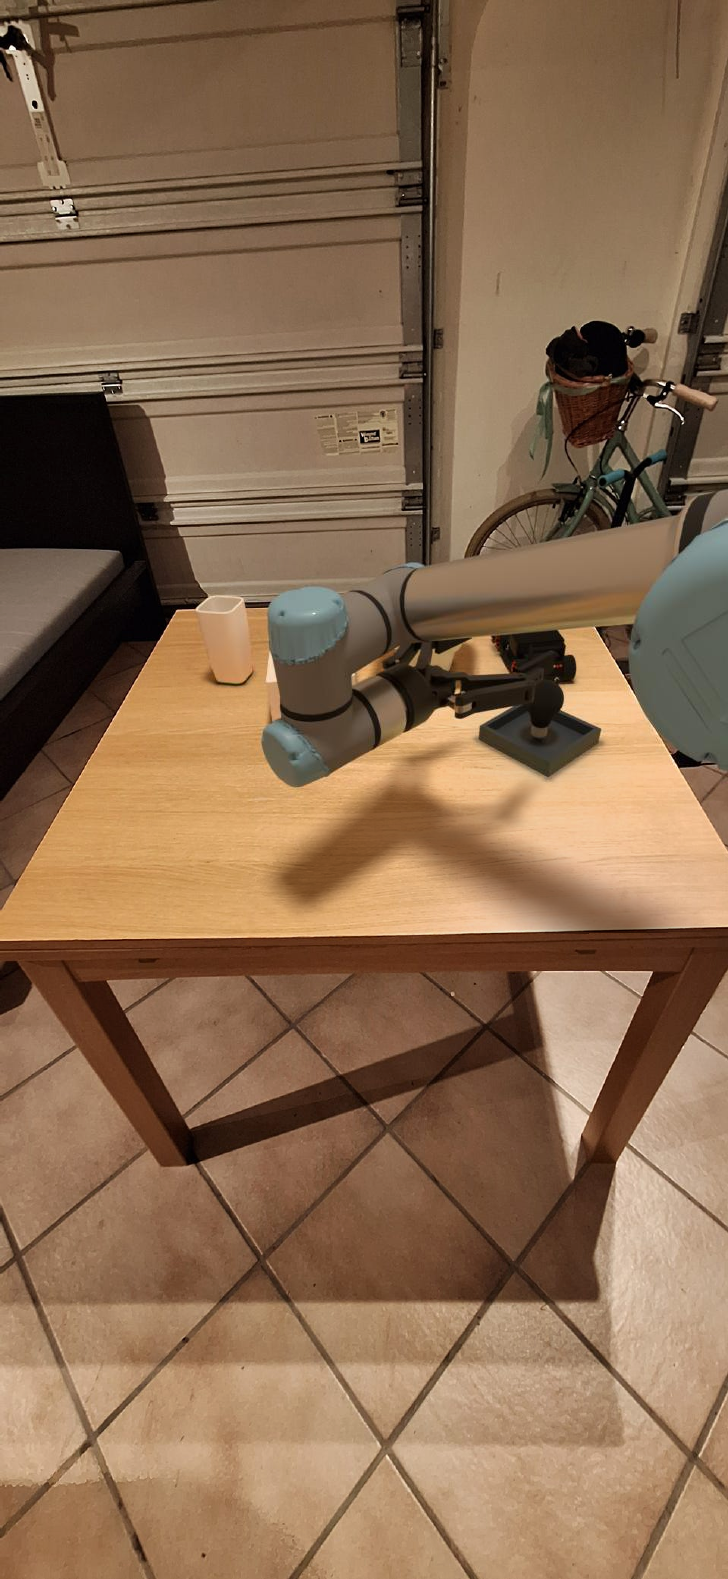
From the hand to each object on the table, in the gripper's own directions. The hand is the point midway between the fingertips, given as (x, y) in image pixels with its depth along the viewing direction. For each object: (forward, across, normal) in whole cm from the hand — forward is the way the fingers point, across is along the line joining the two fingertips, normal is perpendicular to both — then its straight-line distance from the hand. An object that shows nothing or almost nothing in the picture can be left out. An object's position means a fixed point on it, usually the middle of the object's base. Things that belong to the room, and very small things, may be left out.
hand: (509, 643), depth 83 cm
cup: (-14, -53, -20) cm, 59 cm away
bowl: (+14, -29, -20) cm, 38 cm away
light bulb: (+10, 0, -20) cm, 22 cm away
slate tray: (+10, 0, -20) cm, 22 cm away
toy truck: (+30, -18, -20) cm, 40 cm away
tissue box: (-5, -39, -20) cm, 44 cm away
